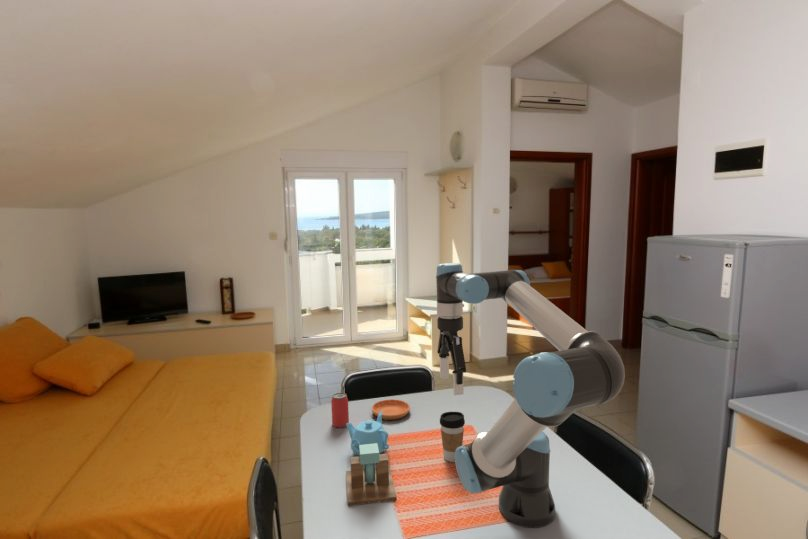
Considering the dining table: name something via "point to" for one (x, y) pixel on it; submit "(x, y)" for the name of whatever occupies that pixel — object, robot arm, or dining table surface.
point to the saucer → (391, 409)
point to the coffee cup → (451, 433)
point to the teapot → (368, 434)
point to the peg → (369, 460)
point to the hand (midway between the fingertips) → (451, 385)
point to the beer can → (340, 410)
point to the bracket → (373, 491)
